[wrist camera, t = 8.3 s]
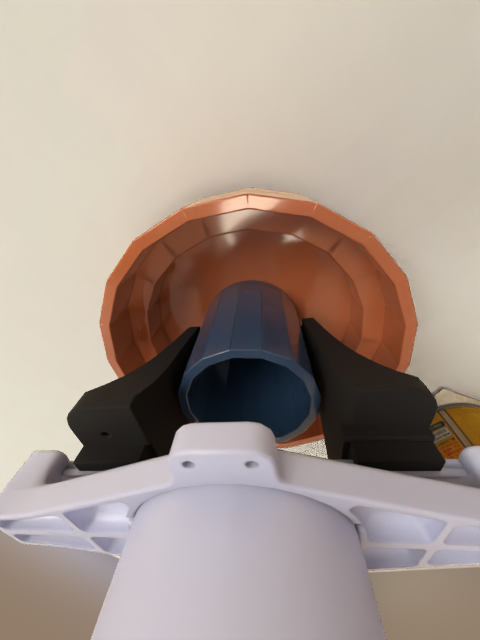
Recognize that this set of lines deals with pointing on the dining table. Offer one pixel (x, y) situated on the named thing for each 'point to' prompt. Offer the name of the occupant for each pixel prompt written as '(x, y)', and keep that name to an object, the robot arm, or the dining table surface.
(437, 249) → the dining table surface
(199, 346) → the cup
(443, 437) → the condiment
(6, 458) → the dining table surface
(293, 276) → the clay bowl
